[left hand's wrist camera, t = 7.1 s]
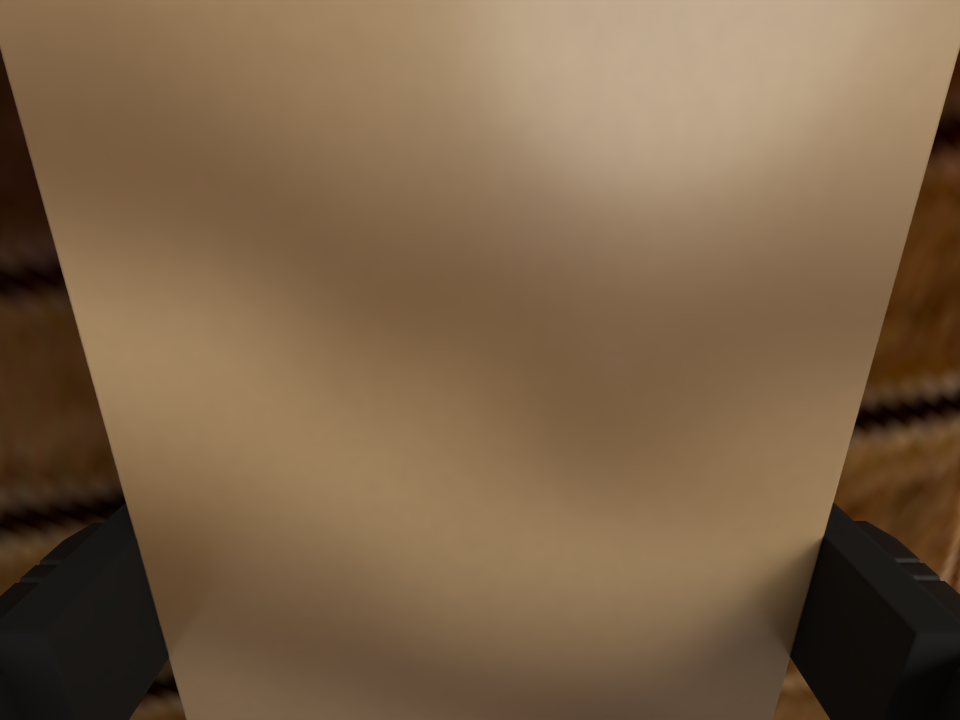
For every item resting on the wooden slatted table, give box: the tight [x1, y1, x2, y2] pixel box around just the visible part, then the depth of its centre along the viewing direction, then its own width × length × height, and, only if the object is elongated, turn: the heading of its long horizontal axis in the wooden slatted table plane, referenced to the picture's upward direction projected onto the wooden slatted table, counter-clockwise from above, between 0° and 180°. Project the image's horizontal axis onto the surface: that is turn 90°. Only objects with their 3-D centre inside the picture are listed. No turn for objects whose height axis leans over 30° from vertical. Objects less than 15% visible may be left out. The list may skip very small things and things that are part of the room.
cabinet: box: [0, 0, 960, 720], centre depth 11 cm, size 20×11×8 cm, turn 0°
